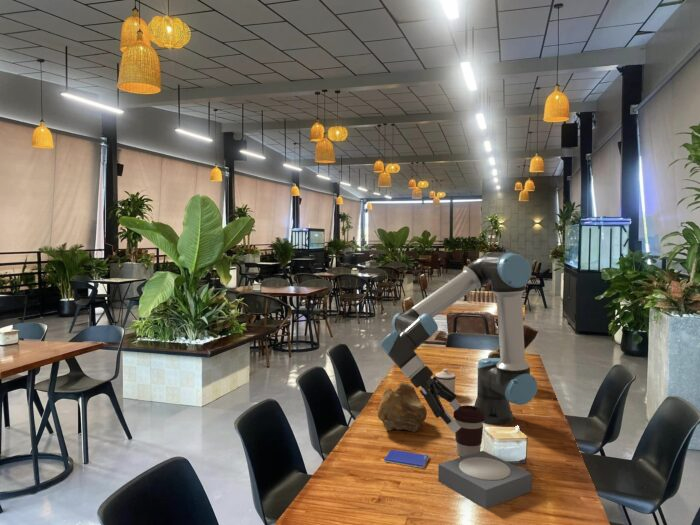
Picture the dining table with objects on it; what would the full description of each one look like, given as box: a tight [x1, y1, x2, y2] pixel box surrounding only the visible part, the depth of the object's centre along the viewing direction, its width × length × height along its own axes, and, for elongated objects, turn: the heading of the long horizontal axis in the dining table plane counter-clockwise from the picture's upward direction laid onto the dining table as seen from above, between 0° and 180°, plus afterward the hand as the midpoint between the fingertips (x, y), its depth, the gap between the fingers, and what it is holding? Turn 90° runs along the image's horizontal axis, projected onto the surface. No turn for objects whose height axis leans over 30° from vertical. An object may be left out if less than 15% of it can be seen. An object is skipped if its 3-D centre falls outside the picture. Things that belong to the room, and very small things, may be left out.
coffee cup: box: [452, 405, 485, 457], centre depth 169 cm, size 10×10×15 cm
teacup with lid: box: [431, 368, 457, 398], centre depth 232 cm, size 12×9×12 cm
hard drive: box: [383, 449, 430, 469], centre depth 165 cm, size 2×8×12 cm
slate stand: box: [437, 450, 533, 509], centre depth 148 cm, size 18×18×5 cm
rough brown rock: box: [377, 381, 428, 433], centre depth 193 cm, size 23×17×15 cm
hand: (461, 423), depth 169 cm, fingers open, 13 cm apart
